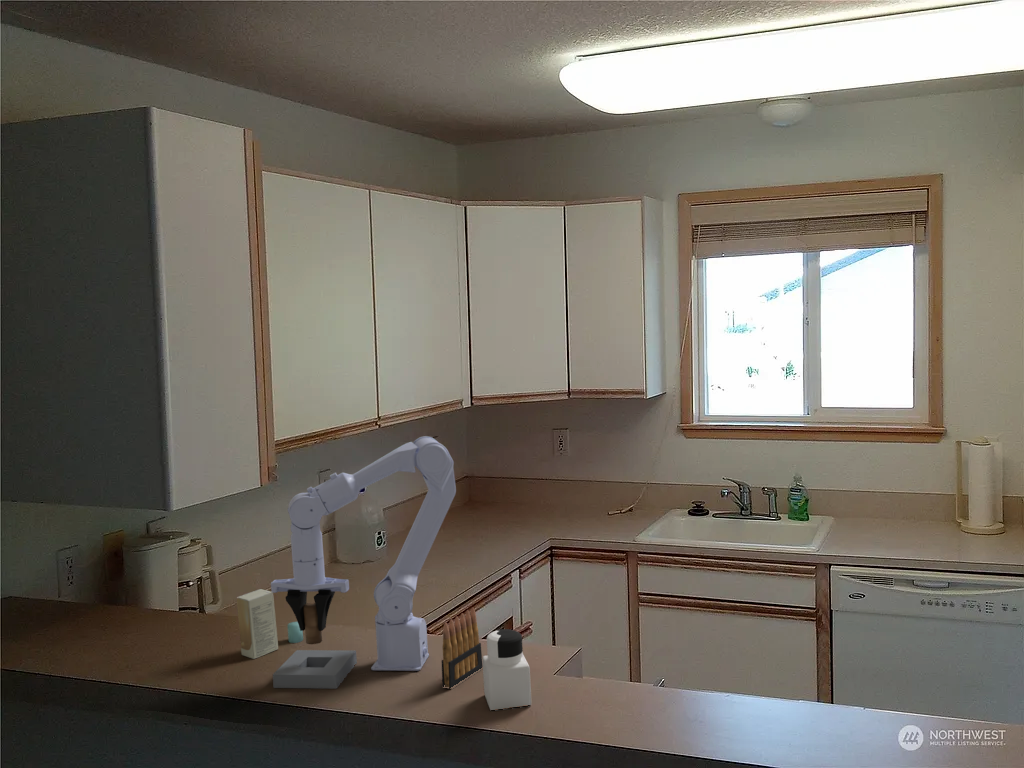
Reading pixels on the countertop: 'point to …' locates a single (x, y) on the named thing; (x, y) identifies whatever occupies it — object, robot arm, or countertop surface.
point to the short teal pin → (294, 633)
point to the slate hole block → (315, 669)
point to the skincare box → (257, 623)
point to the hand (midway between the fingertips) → (313, 629)
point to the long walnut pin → (311, 624)
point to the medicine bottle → (506, 671)
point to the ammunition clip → (460, 649)
